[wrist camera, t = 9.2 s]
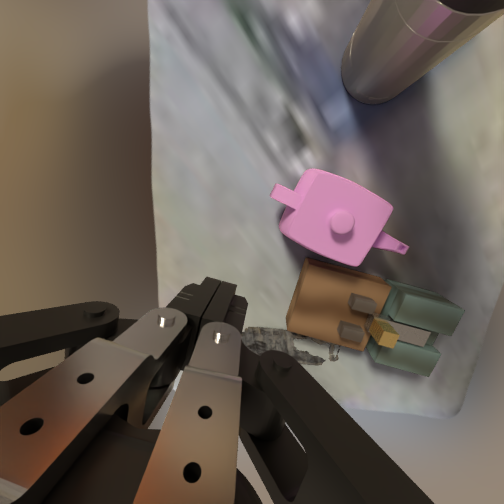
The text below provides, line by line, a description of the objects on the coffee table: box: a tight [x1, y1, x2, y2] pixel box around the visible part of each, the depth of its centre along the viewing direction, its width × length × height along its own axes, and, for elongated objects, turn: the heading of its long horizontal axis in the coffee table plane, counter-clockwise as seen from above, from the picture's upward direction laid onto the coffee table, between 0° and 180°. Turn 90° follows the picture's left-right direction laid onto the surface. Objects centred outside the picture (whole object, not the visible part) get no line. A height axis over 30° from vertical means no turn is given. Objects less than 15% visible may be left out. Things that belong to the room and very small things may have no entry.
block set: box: [286, 257, 465, 377], centre depth 37 cm, size 11×21×6 cm, turn 75°
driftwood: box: [241, 327, 341, 365], centre depth 42 cm, size 21×7×2 cm, turn 86°
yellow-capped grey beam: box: [364, 313, 431, 348], centre depth 33 cm, size 2×8×5 cm, turn 75°
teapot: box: [270, 169, 409, 267], centre depth 32 cm, size 18×10×10 cm, turn 66°
